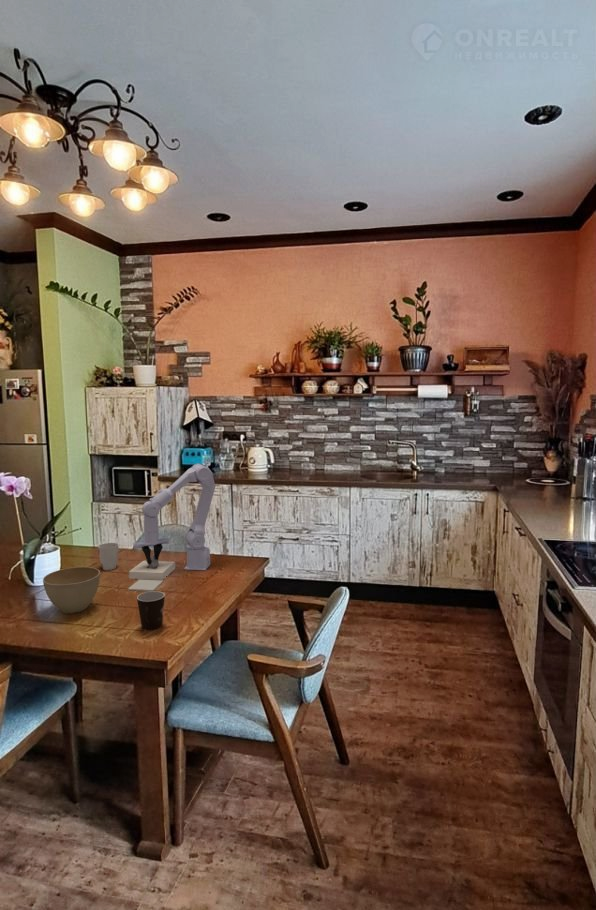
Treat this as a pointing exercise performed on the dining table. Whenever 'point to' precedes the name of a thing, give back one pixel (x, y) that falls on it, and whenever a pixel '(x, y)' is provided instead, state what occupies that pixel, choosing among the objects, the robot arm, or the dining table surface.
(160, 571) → the key housing
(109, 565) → the cup
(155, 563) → the t key
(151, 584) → the grey mat
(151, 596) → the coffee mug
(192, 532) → the robot arm
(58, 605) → the brown bowl
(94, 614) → the dining table surface
